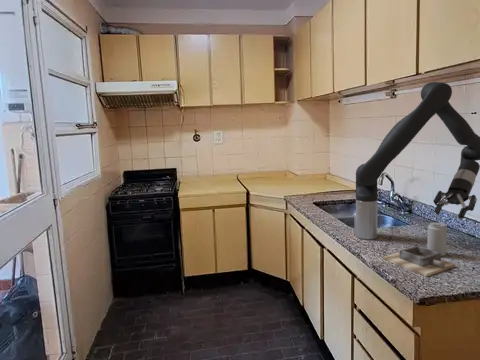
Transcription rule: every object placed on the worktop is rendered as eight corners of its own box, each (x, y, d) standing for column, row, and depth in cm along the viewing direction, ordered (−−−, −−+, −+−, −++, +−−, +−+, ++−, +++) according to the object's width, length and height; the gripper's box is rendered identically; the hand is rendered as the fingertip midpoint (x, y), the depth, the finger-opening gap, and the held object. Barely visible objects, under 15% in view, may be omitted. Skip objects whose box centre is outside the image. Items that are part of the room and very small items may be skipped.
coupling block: (383, 259, 133) (383, 249, 132) (410, 251, 139) (411, 241, 139) (426, 276, 117) (426, 265, 116) (455, 266, 123) (455, 256, 123)
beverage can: (424, 254, 135) (425, 224, 134) (430, 250, 140) (431, 220, 138) (443, 258, 131) (444, 227, 129) (448, 253, 135) (449, 223, 133)
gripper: (441, 175, 147) (426, 207, 142) (479, 179, 135) (465, 213, 130) (446, 186, 150) (432, 217, 146) (484, 190, 139) (470, 224, 134)
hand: (448, 215), depth 138 cm, fingers open, 8 cm apart
